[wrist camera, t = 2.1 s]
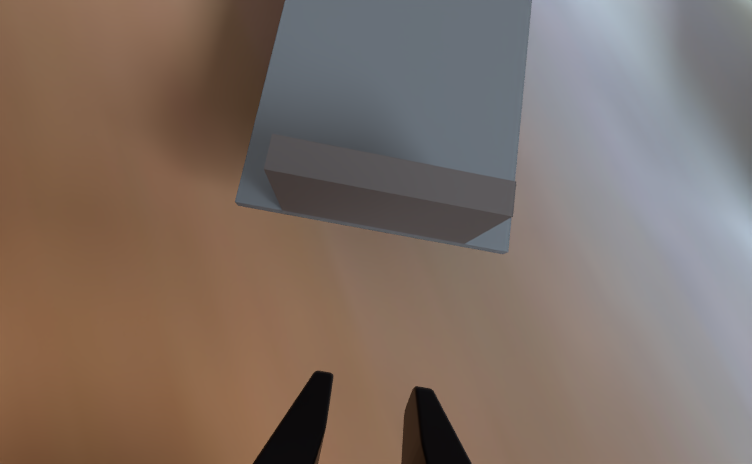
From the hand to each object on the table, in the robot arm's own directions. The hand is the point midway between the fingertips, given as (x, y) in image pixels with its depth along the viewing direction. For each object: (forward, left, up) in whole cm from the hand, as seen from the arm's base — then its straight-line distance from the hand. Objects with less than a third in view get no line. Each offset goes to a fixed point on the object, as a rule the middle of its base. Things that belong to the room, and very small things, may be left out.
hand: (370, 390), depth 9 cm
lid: (+7, +10, -8) cm, 15 cm away
